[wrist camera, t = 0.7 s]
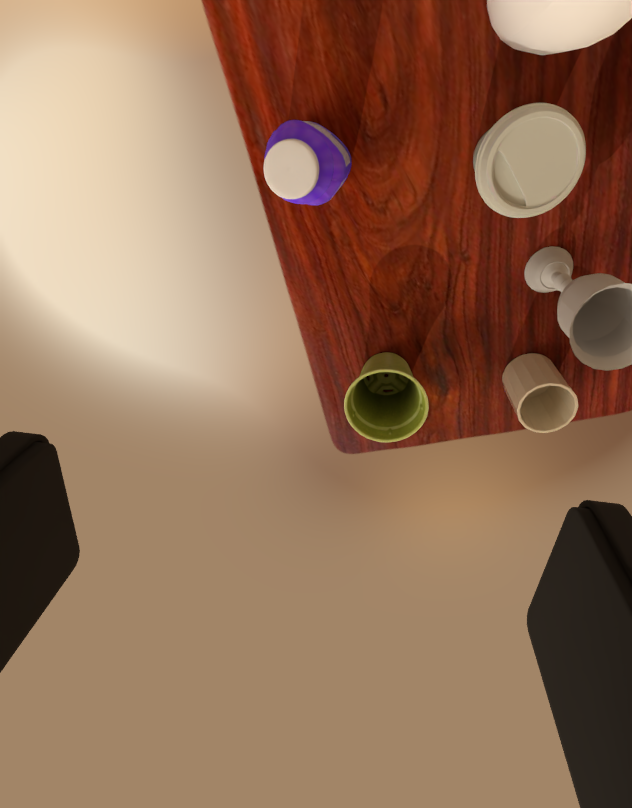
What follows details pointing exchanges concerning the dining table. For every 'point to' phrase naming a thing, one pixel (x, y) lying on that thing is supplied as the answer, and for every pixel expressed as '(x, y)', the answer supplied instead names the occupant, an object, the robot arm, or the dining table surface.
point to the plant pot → (386, 400)
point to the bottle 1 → (305, 163)
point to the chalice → (587, 309)
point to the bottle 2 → (556, 23)
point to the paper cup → (539, 393)
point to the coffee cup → (529, 160)
